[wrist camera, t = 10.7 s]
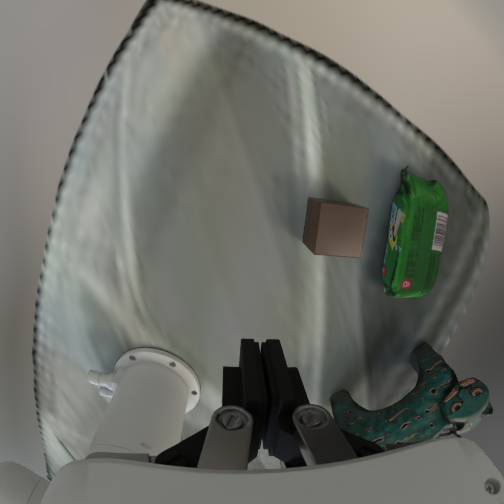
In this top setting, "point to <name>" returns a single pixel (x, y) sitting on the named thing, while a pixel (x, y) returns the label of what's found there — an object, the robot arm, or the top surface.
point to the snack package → (414, 237)
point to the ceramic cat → (419, 406)
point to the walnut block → (335, 228)
